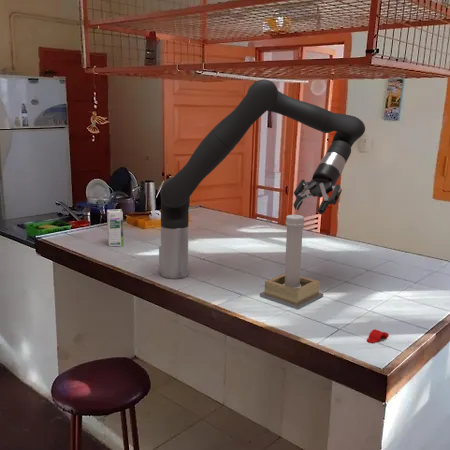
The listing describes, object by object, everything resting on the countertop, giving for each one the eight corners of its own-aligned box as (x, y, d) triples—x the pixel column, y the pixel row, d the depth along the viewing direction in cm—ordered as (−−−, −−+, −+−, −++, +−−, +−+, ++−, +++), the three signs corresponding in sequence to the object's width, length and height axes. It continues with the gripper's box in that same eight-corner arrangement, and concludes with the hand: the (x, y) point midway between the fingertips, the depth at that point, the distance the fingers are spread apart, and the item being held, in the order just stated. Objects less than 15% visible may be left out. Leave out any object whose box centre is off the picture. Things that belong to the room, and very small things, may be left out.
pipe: (293, 288, 159) (297, 195, 152) (306, 295, 153) (310, 198, 146) (279, 291, 156) (282, 196, 149) (291, 298, 151) (295, 200, 144)
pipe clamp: (373, 345, 125) (374, 337, 125) (363, 341, 127) (364, 333, 127) (391, 337, 130) (392, 329, 130) (381, 333, 132) (382, 325, 132)
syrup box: (109, 247, 202) (108, 211, 199) (107, 243, 208) (106, 208, 204) (123, 246, 204) (122, 211, 201) (121, 242, 210) (121, 208, 206)
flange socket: (259, 296, 154) (260, 281, 153) (285, 285, 165) (286, 270, 164) (297, 309, 145) (298, 293, 144) (323, 296, 156) (324, 281, 155)
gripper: (306, 160, 161) (283, 199, 155) (346, 164, 151) (323, 206, 146) (314, 175, 166) (292, 214, 160) (353, 180, 157) (331, 221, 151)
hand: (307, 210), depth 153 cm, fingers open, 8 cm apart
